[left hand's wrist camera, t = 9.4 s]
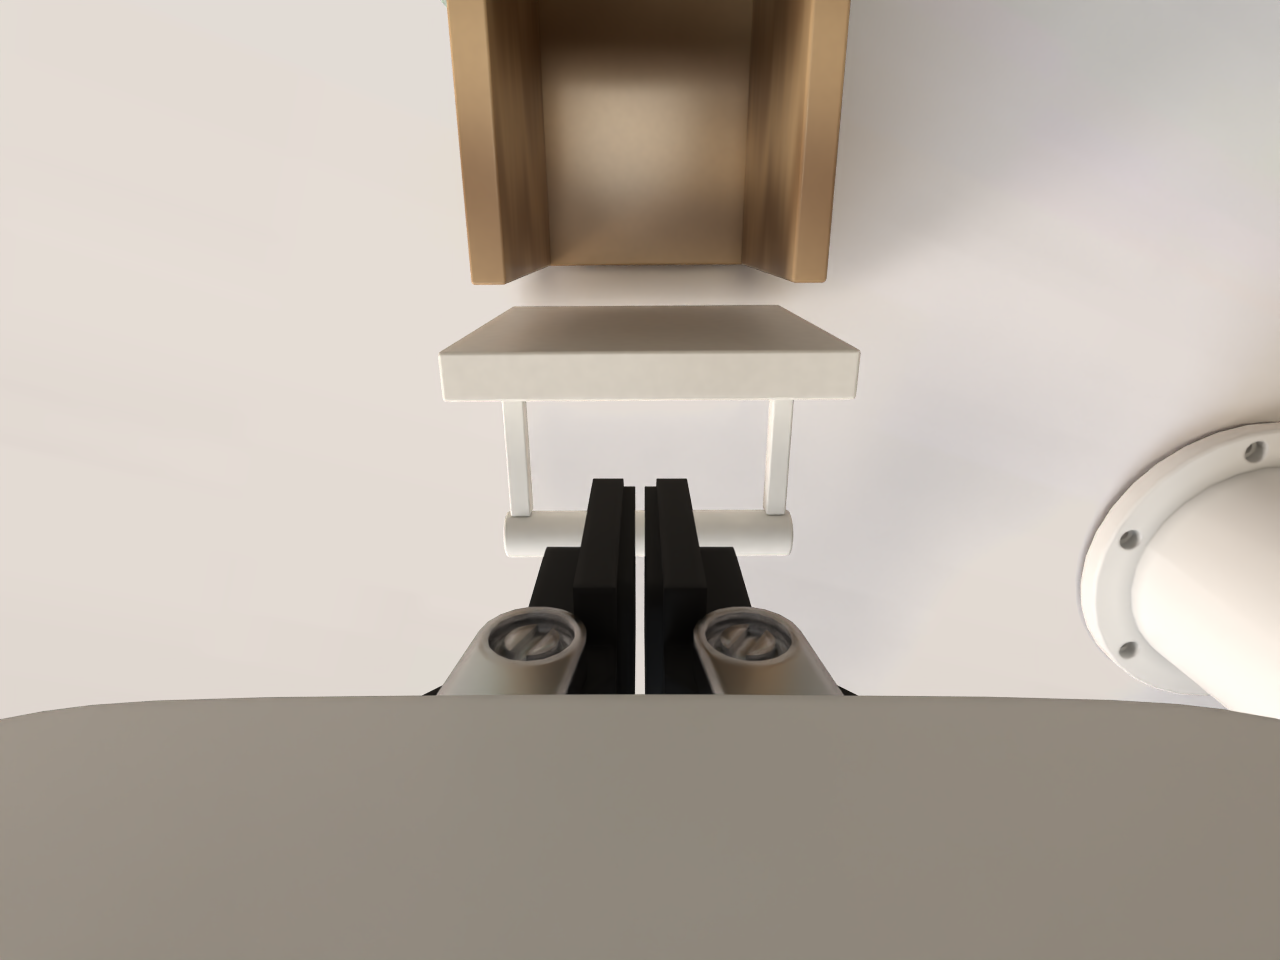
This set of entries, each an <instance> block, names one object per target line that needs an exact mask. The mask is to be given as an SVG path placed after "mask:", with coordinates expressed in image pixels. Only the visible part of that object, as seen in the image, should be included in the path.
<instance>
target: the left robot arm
mask: <svg viewBox="0 0 1280 960" xmlns="http://www.w3.org/2000/svg"><path fill="white" fill-rule="evenodd" d="M1081 607H1082V610H1083V614H1084V618H1085V622H1086V626H1087V628H1088V630H1089V631H1090V633H1091V635H1092V637H1093V638H1094V640H1095V642H1096V644H1097V645H1098V646H1099V647H1100V648H1101V649H1102V651H1103V652H1104V653H1105V654H1106V655H1107V656H1108V657H1109V658H1110V659H1111V660H1112V661H1113V662H1114V663H1115V664H1117V665H1118V666H1119V667H1120V668H1122V669H1123V670H1124V671H1125V672H1126V673H1128V674H1129V675H1130V676H1131V677H1133V678H1135V679H1137V680H1139V681H1141V682H1143V683H1145V684H1147V685H1149V686H1151V687H1153V688H1156V689H1160V690H1164V691H1168V692H1171V693H1175V694H1185V695H1197V696H1207V695H1211V696H1212V697H1214V698H1215V699H1216V700H1217V701H1218V702H1220V703H1221V704H1222V705H1223V706H1225V707H1226V708H1227V709H1228V710H1224V709H1216V708H1207V707H1199V706H1190V705H1181V704H1167V703H1151V702H1134V701H1118V700H1088V699H1050V698H1012V697H950V696H858V695H856V694H854V693H852V692H850V691H848V690H846V689H844V688H842V687H840V686H838V685H837V684H836V683H835V681H834V680H833V678H832V677H831V675H830V674H829V672H828V671H827V669H826V668H825V666H824V665H823V663H822V662H821V660H820V659H819V657H818V656H817V654H816V653H815V651H814V650H813V648H812V647H811V645H810V644H809V642H808V641H807V639H806V638H805V636H804V635H803V633H802V632H801V631H800V630H799V628H798V627H797V626H796V625H795V624H794V623H793V622H791V621H790V620H788V619H786V618H785V617H783V616H781V615H779V614H776V613H774V612H771V611H768V610H765V609H759V608H753V607H751V604H750V600H749V597H748V594H747V590H746V587H745V584H744V580H743V577H742V573H741V570H740V567H739V563H738V560H737V556H736V553H735V550H734V548H733V547H699V541H698V536H697V531H696V525H695V520H694V515H693V509H692V504H691V499H690V493H689V488H688V483H687V479H657V481H656V487H645V596H644V638H645V694H635V638H636V596H635V487H624V481H623V479H593V483H592V488H591V493H590V499H589V504H588V509H587V515H586V520H585V525H584V531H583V536H582V541H581V547H547V548H546V550H545V553H544V556H543V560H542V563H541V567H540V570H539V573H538V577H537V580H536V584H535V587H534V590H533V594H532V597H531V600H530V604H529V607H527V608H521V609H515V610H512V611H509V612H506V613H504V614H501V615H499V616H497V617H495V618H494V619H492V620H490V621H489V622H487V623H486V624H485V625H484V626H483V627H482V628H481V630H480V631H479V632H478V633H477V635H476V636H475V638H474V639H473V641H472V642H471V644H470V645H469V647H468V648H467V650H466V651H465V653H464V654H463V656H462V657H461V659H460V660H459V662H458V663H457V665H456V666H455V668H454V669H453V671H452V672H451V674H450V675H449V677H448V678H447V680H446V681H445V683H444V684H443V685H442V686H440V687H438V688H436V689H434V690H432V691H430V692H428V693H426V694H424V695H422V696H342V697H261V698H228V699H195V700H162V701H144V702H129V703H115V704H100V705H88V706H81V707H73V708H65V709H57V710H50V711H42V712H37V713H32V714H26V715H21V716H16V717H10V718H5V719H0V960H1280V422H1275V423H1264V424H1253V425H1245V426H1241V427H1237V428H1233V429H1230V430H1226V431H1222V432H1218V433H1215V434H1212V435H1210V436H1208V437H1205V438H1203V439H1201V440H1198V441H1196V442H1194V443H1191V444H1189V445H1187V446H1185V447H1183V448H1182V449H1180V450H1178V451H1177V452H1175V453H1173V454H1172V455H1170V456H1168V457H1167V458H1165V459H1164V460H1162V461H1160V462H1159V463H1157V464H1156V465H1155V466H1154V467H1152V468H1151V469H1150V470H1149V471H1148V472H1146V473H1145V474H1144V475H1143V476H1142V477H1140V478H1139V479H1138V480H1137V481H1136V482H1134V483H1133V484H1132V485H1131V486H1130V487H1129V489H1128V490H1127V491H1126V492H1125V493H1124V494H1123V495H1122V496H1121V498H1120V499H1119V500H1118V501H1117V502H1116V503H1115V504H1114V505H1113V507H1112V508H1111V509H1110V511H1109V513H1108V514H1107V516H1106V517H1105V519H1104V520H1103V522H1102V523H1101V525H1100V527H1099V528H1098V530H1097V531H1096V533H1095V536H1094V538H1093V541H1092V543H1091V545H1090V548H1089V550H1088V553H1087V555H1086V558H1085V563H1084V568H1083V573H1082V578H1081Z"/></svg>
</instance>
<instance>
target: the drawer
mask: <svg viewBox="0 0 1280 960" xmlns="http://www.w3.org/2000/svg"><path fill="white" fill-rule="evenodd" d="M446 2H447V13H448V24H449V35H450V46H451V58H452V69H453V80H454V91H455V102H456V114H457V125H458V136H459V147H460V158H461V170H462V181H463V192H464V203H465V214H466V226H467V237H468V248H469V259H470V270H471V282H472V284H474V285H504V284H506V283H509V282H511V281H514V280H516V279H518V278H521V277H523V276H526V275H528V274H531V273H533V272H535V271H538V270H540V269H543V268H545V267H548V266H576V265H740V264H743V265H746V266H749V267H752V268H755V269H757V270H760V271H763V272H766V273H769V274H772V275H774V276H777V277H780V278H783V279H786V280H789V281H792V282H794V283H822V282H825V281H826V279H827V267H828V256H829V244H830V233H831V221H832V210H833V198H834V187H835V175H836V163H837V152H838V140H839V129H840V117H841V106H842V94H843V83H844V71H845V60H846V48H847V37H848V25H849V14H850V2H851V0H446ZM438 358H439V367H440V377H441V386H442V395H443V399H444V401H447V402H492V401H502V408H503V420H504V433H505V446H506V458H507V471H508V484H509V496H510V509H511V511H510V512H508V513H507V515H506V517H505V522H504V548H505V552H506V555H507V556H508V557H543V556H544V553H545V550H546V548H547V547H581V541H582V536H583V531H584V525H585V520H586V515H587V511H532V510H533V498H532V483H531V468H530V453H529V438H528V423H527V407H526V401H668V400H770V402H769V418H768V434H767V450H766V466H765V482H764V498H763V508H764V510H693V515H694V520H695V525H696V531H697V536H698V541H699V547H733V548H734V550H735V553H736V556H787V555H789V554H790V553H791V550H792V545H793V524H792V518H791V515H790V513H789V511H788V510H786V497H787V483H788V470H789V457H790V444H791V430H792V417H793V404H794V400H844V399H854V398H855V396H856V390H857V381H858V372H859V362H860V350H858V349H857V348H855V347H853V346H851V345H849V344H848V343H846V342H844V341H842V340H840V339H839V338H837V337H835V336H833V335H831V334H830V333H828V332H826V331H824V330H822V329H821V328H819V327H817V326H815V325H813V324H812V323H810V322H808V321H806V320H804V319H803V318H801V317H799V316H797V315H795V314H794V313H792V312H790V311H788V310H786V309H785V308H783V307H781V306H779V305H703V306H536V307H512V308H510V309H509V310H507V311H506V312H504V313H502V314H501V315H499V316H497V317H496V318H494V319H493V320H491V321H489V322H488V323H486V324H484V325H483V326H481V327H480V328H478V329H476V330H475V331H473V332H472V333H470V334H468V335H467V336H465V337H463V338H462V339H460V340H459V341H457V342H455V343H454V344H452V345H451V346H449V347H447V348H446V349H444V350H442V351H441V352H439V355H438ZM635 556H645V510H635Z"/></svg>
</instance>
